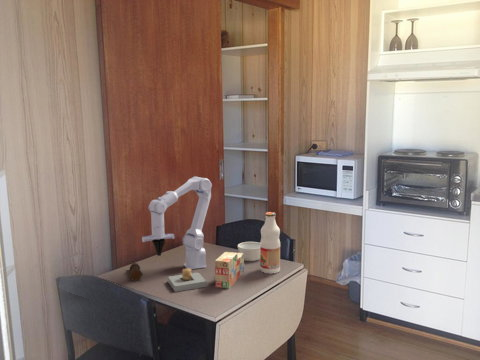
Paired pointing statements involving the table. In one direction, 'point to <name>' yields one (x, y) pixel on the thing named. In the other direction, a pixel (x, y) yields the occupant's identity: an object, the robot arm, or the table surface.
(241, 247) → the ramekin
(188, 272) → the peg
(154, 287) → the table surface
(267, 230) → the fruit juice
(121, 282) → the table surface
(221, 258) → the stack of blocks
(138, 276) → the bolt
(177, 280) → the board
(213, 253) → the table surface
